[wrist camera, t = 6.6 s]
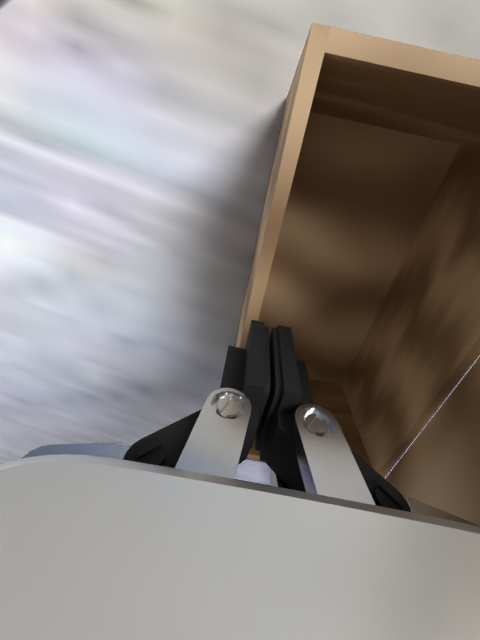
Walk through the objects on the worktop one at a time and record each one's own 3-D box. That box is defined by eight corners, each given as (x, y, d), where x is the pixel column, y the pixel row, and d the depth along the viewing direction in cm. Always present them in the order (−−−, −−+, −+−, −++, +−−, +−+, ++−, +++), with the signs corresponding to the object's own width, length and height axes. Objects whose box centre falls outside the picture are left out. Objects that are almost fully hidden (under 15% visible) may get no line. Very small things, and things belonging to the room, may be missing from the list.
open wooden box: (287, 96, 17) (312, 22, 9) (468, 136, 18) (672, 104, 9) (230, 364, 28) (216, 453, 19) (343, 386, 28) (379, 483, 20)
